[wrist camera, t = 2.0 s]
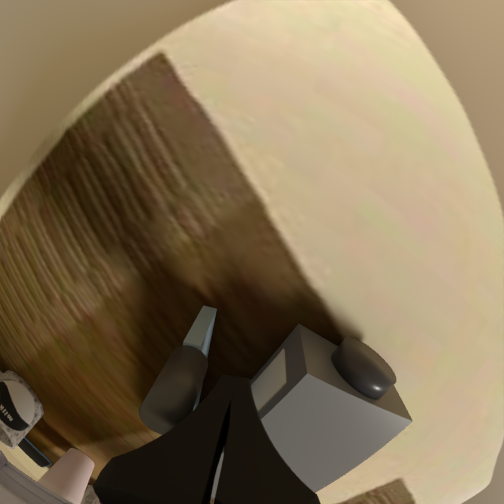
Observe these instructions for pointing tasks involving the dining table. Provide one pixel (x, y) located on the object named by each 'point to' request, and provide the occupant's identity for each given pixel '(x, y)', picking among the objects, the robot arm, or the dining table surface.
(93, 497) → the candy bar box
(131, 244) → the dining table surface
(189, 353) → the side door
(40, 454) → the smartphone
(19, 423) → the mug
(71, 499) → the smoothie
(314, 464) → the camera housing
